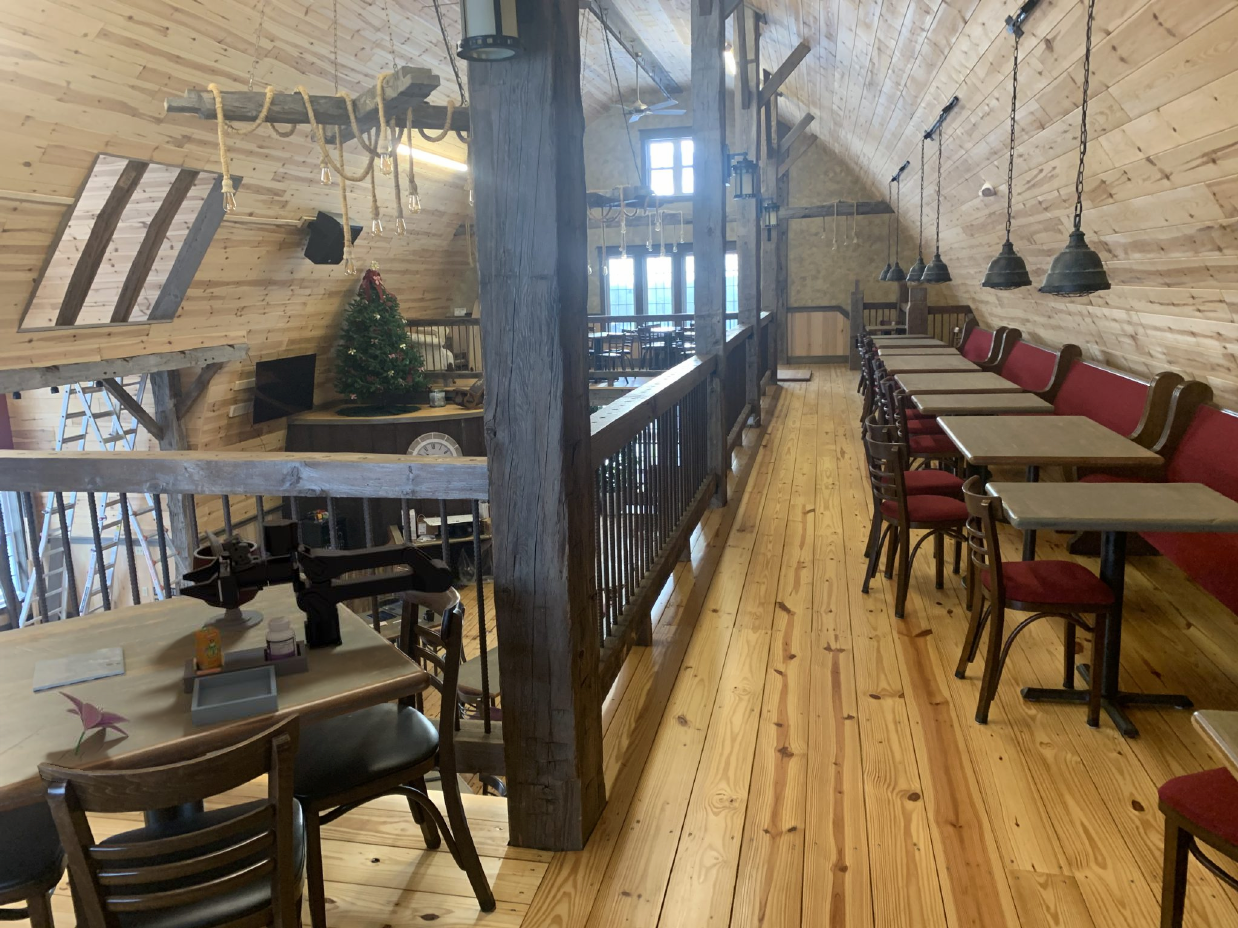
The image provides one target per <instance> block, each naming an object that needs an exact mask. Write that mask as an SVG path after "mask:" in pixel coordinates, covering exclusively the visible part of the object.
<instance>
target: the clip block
mask: <svg viewBox="0 0 1238 928" xmlns="http://www.w3.org/2000/svg"><path fill="white" fill-rule="evenodd" d="M305 643H306V642H305V639H302V640H296V647H297V656H296V657H290V658H284V659H278V660H272V661H268V653H267V645H266V646H259V647H252V648H247V649H240V650H236V651H230V652H229V651H228V652H223V653H222V652H221V661H222V667H218V668H212V669H206V670H200V671H199V669H198V660H197V657H191V658H186V659H185V664H184V669H183V677H182V678H183V686H184V694H190V693H193V690H194V681H195V679H196V678H202V677H207V676H213V675H219V674H225V673H231V672H236V671H242V670H248V669H254V668H260V667H266V666H271V665H274V669H275V678H279V677H286V676H291V675H296V674H302V673H308V672H309V664H308V663H309V662H308V656H307V649H306V644H305Z"/></svg>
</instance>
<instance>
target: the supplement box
mask: <svg viewBox="0 0 1238 928" xmlns="http://www.w3.org/2000/svg"><path fill="white" fill-rule="evenodd" d="M193 633H194V640H195V648H196V649H195V650H196V658H197V660H198V669H199V671H200V670H206V669H212V668H218V667H222V661H221V654H222V651H221V642H220V638H221V637H220V633H219V631H218V630H217V629H215V628H214V627H211V626H209V627H207V628H204V627H203V628H201V629H197V630H195V631H194V632H193Z"/></svg>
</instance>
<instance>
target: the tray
mask: <svg viewBox="0 0 1238 928" xmlns="http://www.w3.org/2000/svg"><path fill="white" fill-rule="evenodd" d="M276 679H277V678H276V677H275V669H274V665H271V666H266V667H260V668H254V669H248V670H242V671H236V672H231V673H225V674H219V675H213V676H207V677H202V678H196V679H195V681H194V690H193V692H192V700H191V708H190V709H191V710H190V712H191V720H192V728H193V727H200V726H205V725H209V724H210V725H211V724H216V723H222V722H226V721H232V720H236V719H242V718H246V717H247V718H248V717H252V716H253V717H254V716H258V715H264V714H268V713H269V714H270V713H274V712H279V704H278V703H279V702H278V690H277V681H276Z"/></svg>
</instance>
